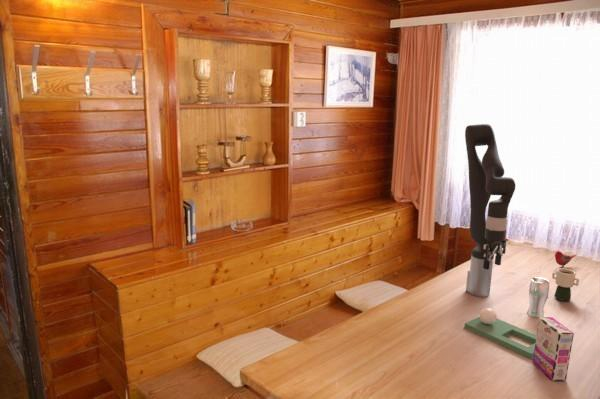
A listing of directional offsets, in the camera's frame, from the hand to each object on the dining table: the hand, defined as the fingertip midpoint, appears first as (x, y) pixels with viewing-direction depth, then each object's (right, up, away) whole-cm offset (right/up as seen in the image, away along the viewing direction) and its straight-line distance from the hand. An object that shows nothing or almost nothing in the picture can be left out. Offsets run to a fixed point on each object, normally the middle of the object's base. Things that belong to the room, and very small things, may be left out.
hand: (491, 266), depth 186 cm
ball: (-5, -17, -9) cm, 20 cm away
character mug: (+39, -17, +19) cm, 47 cm away
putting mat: (0, -24, -14) cm, 28 cm away
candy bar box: (+4, -29, -35) cm, 46 cm away
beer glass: (+19, -20, +4) cm, 28 cm away
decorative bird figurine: (+61, -9, +57) cm, 84 cm away
